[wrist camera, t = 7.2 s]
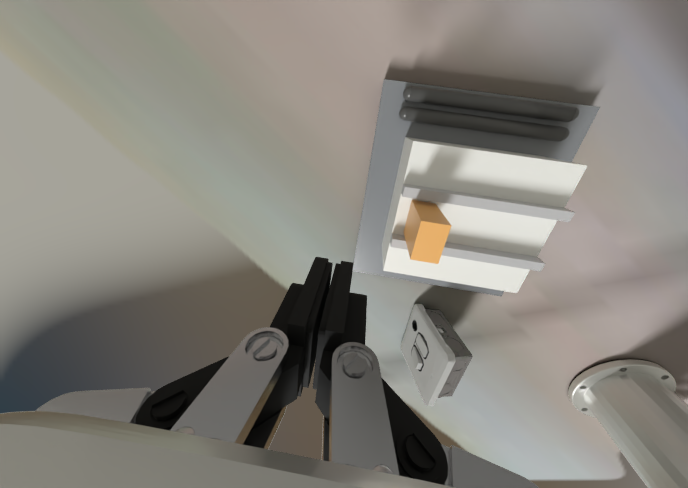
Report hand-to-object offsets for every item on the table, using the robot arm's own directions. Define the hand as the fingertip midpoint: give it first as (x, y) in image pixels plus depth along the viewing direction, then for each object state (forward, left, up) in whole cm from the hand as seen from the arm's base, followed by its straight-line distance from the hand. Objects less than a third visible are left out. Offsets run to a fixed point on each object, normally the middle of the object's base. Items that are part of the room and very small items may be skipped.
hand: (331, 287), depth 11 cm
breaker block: (-10, 0, -20) cm, 22 cm away
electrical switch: (-13, +19, -20) cm, 30 cm away
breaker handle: (-6, 0, -12) cm, 14 cm away
